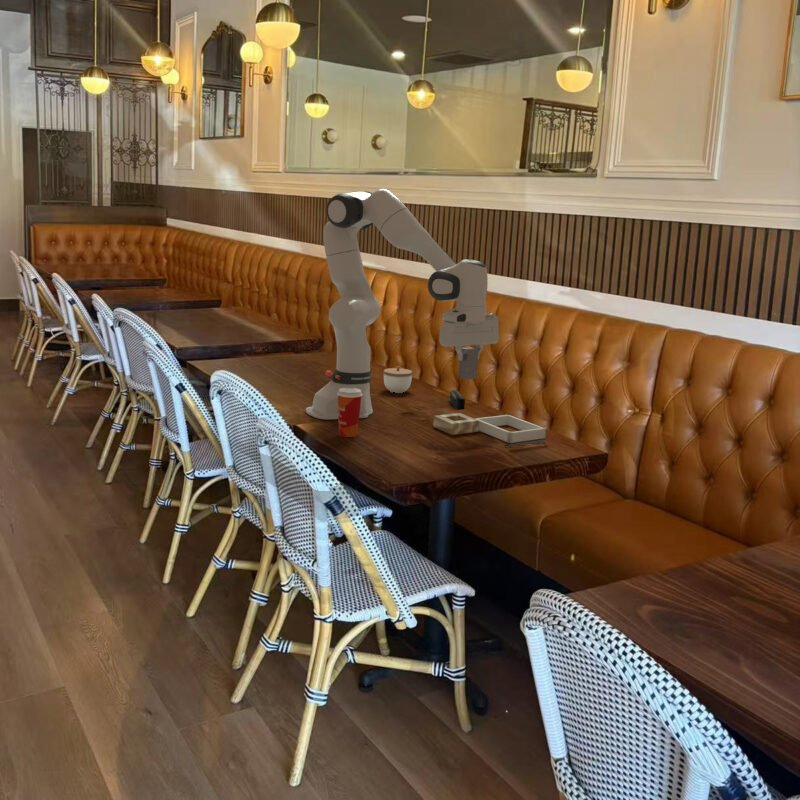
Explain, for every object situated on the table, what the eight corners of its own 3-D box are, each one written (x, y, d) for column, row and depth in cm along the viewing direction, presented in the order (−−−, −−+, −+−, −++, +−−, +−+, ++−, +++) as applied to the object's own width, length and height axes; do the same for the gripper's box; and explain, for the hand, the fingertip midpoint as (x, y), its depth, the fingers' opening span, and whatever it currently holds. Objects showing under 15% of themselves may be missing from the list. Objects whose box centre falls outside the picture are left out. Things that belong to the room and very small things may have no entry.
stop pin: (466, 379, 265) (467, 350, 263) (458, 376, 268) (459, 347, 266) (476, 378, 267) (478, 349, 265) (468, 375, 270) (470, 347, 268)
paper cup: (335, 431, 268) (336, 386, 264) (360, 432, 268) (362, 387, 265) (335, 438, 260) (337, 392, 257) (361, 439, 261) (363, 393, 258)
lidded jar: (399, 395, 319) (400, 370, 317) (376, 390, 325) (377, 366, 323) (417, 391, 327) (418, 367, 325) (394, 386, 333) (395, 362, 331)
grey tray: (508, 447, 260) (510, 433, 259) (472, 432, 274) (473, 418, 273) (544, 442, 267) (545, 428, 266) (507, 428, 282) (508, 414, 281)
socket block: (451, 439, 265) (452, 423, 264) (433, 431, 274) (433, 415, 272) (477, 436, 271) (478, 420, 269) (458, 428, 279) (459, 412, 278)
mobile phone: (466, 398, 300) (455, 387, 314) (458, 398, 299) (447, 387, 314) (465, 412, 301) (454, 400, 315) (457, 412, 301) (446, 400, 315)
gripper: (492, 311, 271) (489, 355, 274) (437, 314, 260) (435, 359, 264) (504, 314, 266) (501, 359, 269) (449, 317, 255) (447, 363, 258)
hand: (468, 359), depth 266 cm, fingers closed on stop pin, 4 cm apart
